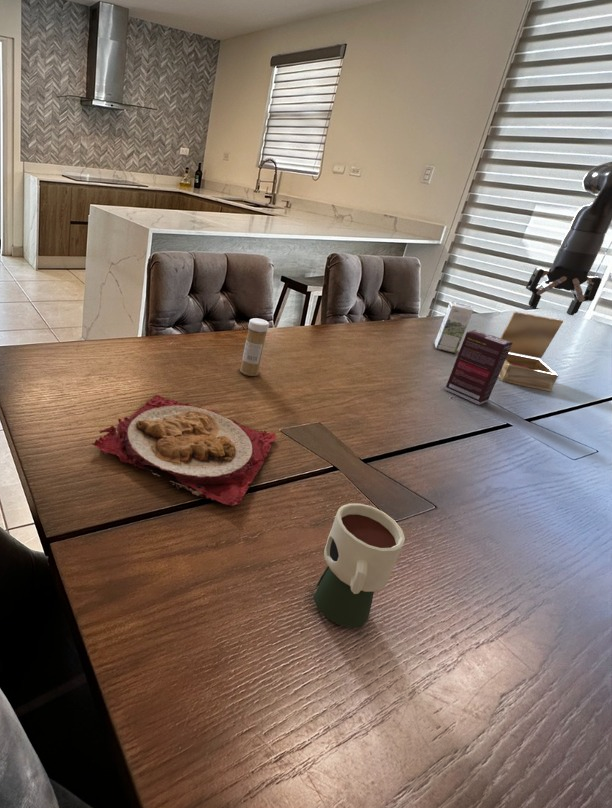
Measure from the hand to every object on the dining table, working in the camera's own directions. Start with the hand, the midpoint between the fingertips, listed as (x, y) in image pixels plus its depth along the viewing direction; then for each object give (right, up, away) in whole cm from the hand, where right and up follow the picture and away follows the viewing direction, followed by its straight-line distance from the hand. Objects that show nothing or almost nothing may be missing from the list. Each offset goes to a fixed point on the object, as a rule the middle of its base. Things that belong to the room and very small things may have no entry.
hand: (550, 311), depth 123 cm
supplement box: (-26, -22, -6) cm, 35 cm away
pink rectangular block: (-2, -18, +8) cm, 19 cm away
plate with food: (-97, -27, -39) cm, 108 cm away
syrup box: (-13, -10, +24) cm, 29 cm away
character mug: (-80, -40, -66) cm, 112 cm away
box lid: (+1, -6, +8) cm, 10 cm away
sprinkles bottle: (-81, -16, -9) cm, 82 cm away
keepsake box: (-2, -18, +9) cm, 20 cm away
